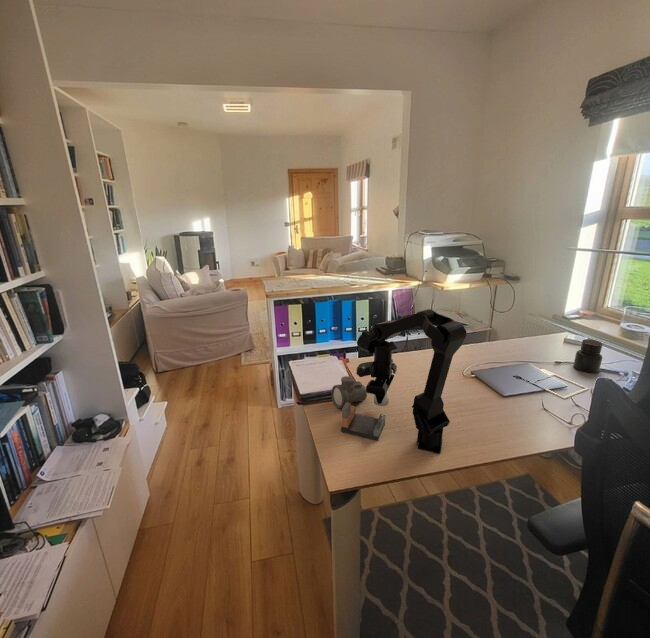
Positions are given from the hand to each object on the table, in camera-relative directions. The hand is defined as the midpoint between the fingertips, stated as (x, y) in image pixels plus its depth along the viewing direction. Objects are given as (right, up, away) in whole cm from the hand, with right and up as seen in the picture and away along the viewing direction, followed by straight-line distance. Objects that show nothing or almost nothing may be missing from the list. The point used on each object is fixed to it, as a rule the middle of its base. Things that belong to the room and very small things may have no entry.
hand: (381, 399), depth 121 cm
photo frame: (+70, +2, +17) cm, 72 cm away
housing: (0, -1, 0) cm, 1 cm away
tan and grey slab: (-12, -5, -6) cm, 14 cm away
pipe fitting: (-10, -3, +7) cm, 13 cm away
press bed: (-7, -8, -7) cm, 13 cm away
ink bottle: (+91, +7, +28) cm, 95 cm away
